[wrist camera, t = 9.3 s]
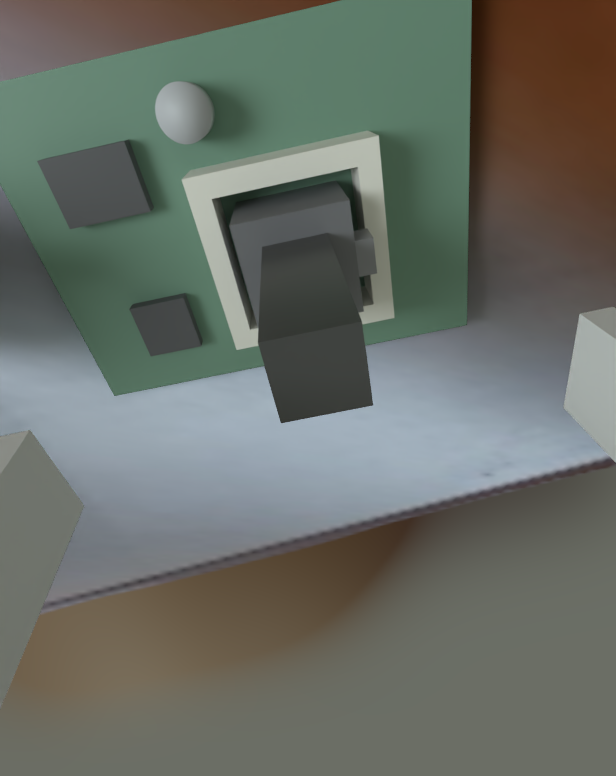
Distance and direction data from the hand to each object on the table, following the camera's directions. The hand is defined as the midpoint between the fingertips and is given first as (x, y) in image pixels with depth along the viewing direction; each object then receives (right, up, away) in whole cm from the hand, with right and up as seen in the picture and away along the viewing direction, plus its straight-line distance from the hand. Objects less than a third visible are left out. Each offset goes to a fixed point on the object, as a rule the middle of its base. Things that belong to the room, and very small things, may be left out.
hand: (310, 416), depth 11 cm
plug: (-1, +8, +12) cm, 15 cm away
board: (-3, +9, +13) cm, 16 cm away
